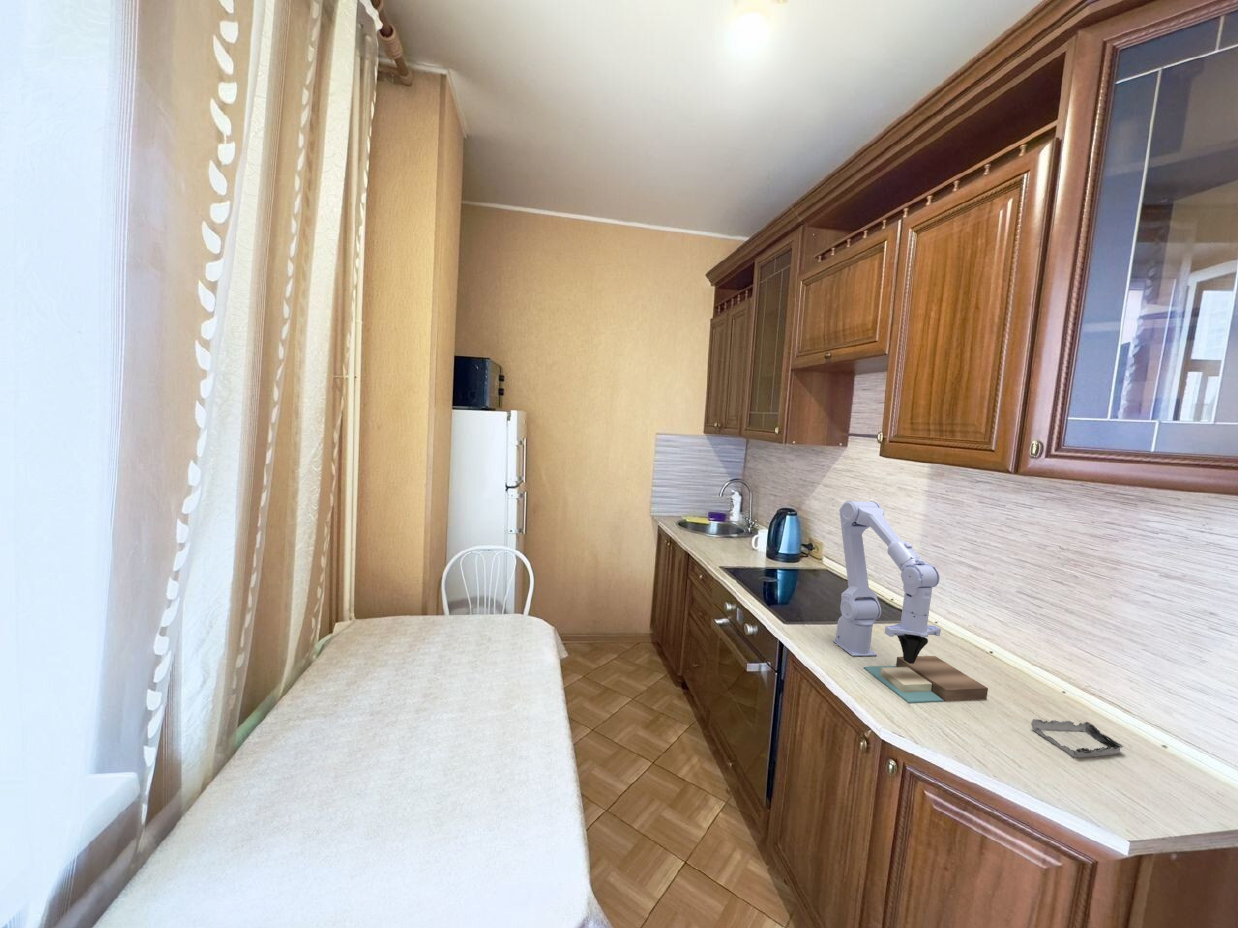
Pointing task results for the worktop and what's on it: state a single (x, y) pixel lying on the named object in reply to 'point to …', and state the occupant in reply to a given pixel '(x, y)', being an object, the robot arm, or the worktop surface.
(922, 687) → the cream square slab
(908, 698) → the rubber mat
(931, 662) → the walnut board
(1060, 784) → the worktop surface
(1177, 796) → the worktop surface
